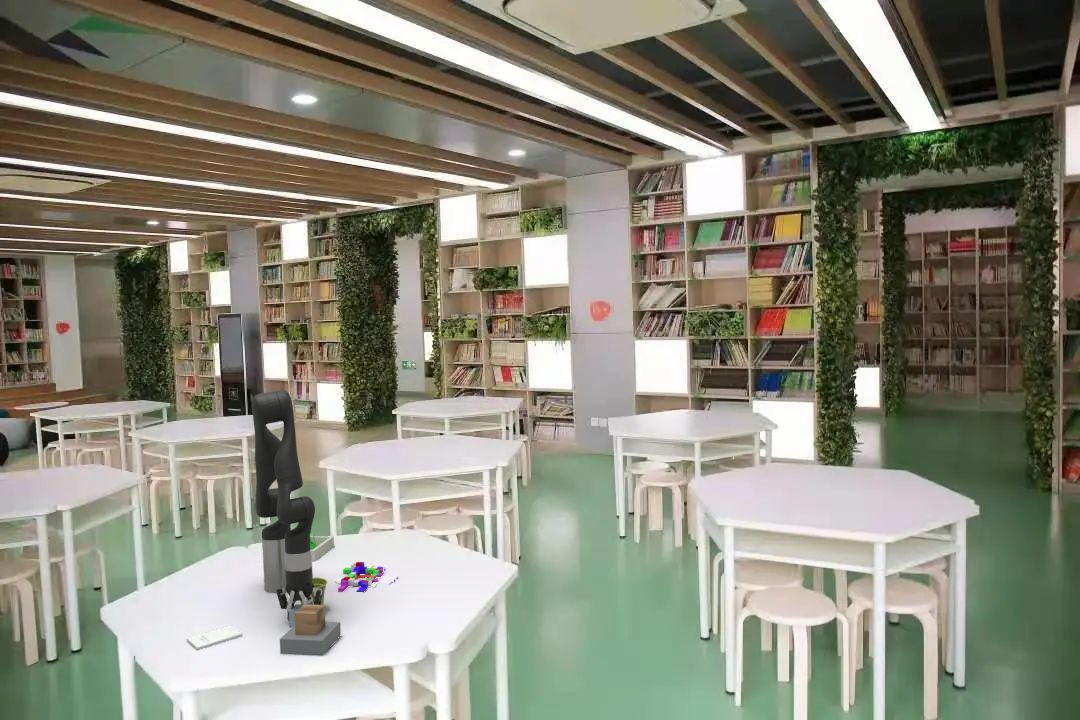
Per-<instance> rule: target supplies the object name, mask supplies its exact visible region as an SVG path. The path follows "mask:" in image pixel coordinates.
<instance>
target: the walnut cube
mask: <svg viewBox="0 0 1080 720" xmlns="http://www.w3.org/2000/svg"><path fill="white" fill-rule="evenodd" d="M325 606H326V605H325V604H323V605H305V604H304V605H303V606H302V607H301V608H300V609H298V610H297V611H296V612H295V613H294V617H295V635H317V634H318V633H319V632H320V631H321V630H322V629H323V628H324V627H325V626H326V624H325V622H326V608H325Z"/></svg>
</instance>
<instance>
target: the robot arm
mask: <svg viewBox="0 0 1080 720" xmlns="http://www.w3.org/2000/svg"><path fill="white" fill-rule="evenodd" d="M251 408H252V409H251V411H252V412H251V413H252V421H253V428H254V463H255V464H254V466H255V477H256V479H255V481H256V483H255V485H256V486H255V504H254V505H255V506H254V507H255V512H256V515H257V516H258V517H259V518H263V519H265V518H266V519H268V518H276V517H277V520H276V521H274V522H273V523H270V524H269V525H268V526H265V527H263V529H261V544H262V546H261V547H262V549H261V550H262V563H263V566H262V568H263V584H264V586H263V587H264V591H265V592H269V593H276V596H277V599H278V602H279V606H280V609H281V610H286V612H287V621H288V622H289V610H290V609H291V608H292V607H294V606H295V605H296V602H298V601H299V602H300V601H303V603H304V604H305V605H321V600H322V595H323V588H320V589H319V588H315V587H314V585H313V578H314V577H313V576H314V574H313V561H312V556H311V550H310V533H312V526H313V523H314V520H315V519H314V518H315V515H316V506H315V503H314V500H313V499H312V498H311V497H310V496H299V497H295V498H291V493H292V492H294V491H297V490H299V489H300V488H302V487H303V485H304V482H303V476H302V471H301V468H300V461H299V456H298V448H297V433H296V423H295V414H294V406H293V402H292V397H291V396H290V393H289V392H288V391H287V390H282V389H281V390H275V391H273V390H272V391H268V392H262V393H257V394H255V395H254V396H253V398H252V401H251ZM279 422H282V423H283V434H282V437H281V439H279V437H278V436H276V435H275V434H274V433H273V432H271V430H270V429H269V428H268V426H267V425H268V424H274V423H279ZM275 482H276V483H277V487H275V488H270V487H271V486H272V485H273V483H275ZM292 524H297V525H296V527H295V528H292V529H291V527H292V526H291V525H292ZM312 592H314V596H315V601H314V603H313V598H312V596H311V593H312ZM287 595H288V596H289V598H288V597H287ZM307 599H308V600H307Z"/></svg>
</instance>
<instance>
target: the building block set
mask: <svg viewBox="0 0 1080 720" xmlns="http://www.w3.org/2000/svg"><path fill="white" fill-rule="evenodd" d="M373 566H374V567H373ZM367 567H369V568H367ZM372 567H373V568H372ZM383 568H384V567H383V566H377V567H376V568H375V565H374V564H365V561H354V562H352V564H351V566H350V567H344V568H343V570H342V574H343V575H346V576H344V577H343V578H338V579H336V580H335V581H334V583H335V584H337V585H340V586H339V587H338V588H337V592H338V593H343V591H344V590H345V589H346V588H347V587H348V586H354V587H356V586H361V587H358V589H356V591H355V592H364V591H365V590H366V589H367V588H368V589H369V587H368V586H372V587H373V586H376V585H377V586H378V584H376V583H374V584H372V583H373V582H379V580H380V581H381V579H379V578H376V577H381V576H382V575H384V573H382V572H383ZM366 573H367V574H366ZM360 574H366V575H360ZM370 574H372V575H370ZM365 577H367V578H365ZM356 578H357V579H356ZM375 578H376V579H375ZM377 586H376V587H377ZM348 588H349V587H348ZM348 588H347V589H348ZM347 589H346V590H347ZM368 589H367V590H368ZM346 590H345V591H346ZM367 590H366V591H367ZM345 591H344V592H345ZM366 591H365V592H366ZM365 592H364V593H365Z"/></svg>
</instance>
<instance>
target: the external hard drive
mask: <svg viewBox="0 0 1080 720" xmlns="http://www.w3.org/2000/svg"><path fill="white" fill-rule="evenodd" d="M242 637H243V633H242V631H241V630H239V629H238V628H236V627H235V626H234V625H228V626H225V627H221V628H218V629H215V630H212V631H208V632H205V633H202V634H199V635H195V636H192V637H189V638H186V642H187V644H189V645H190V646H192V648H194V649H195V650H196V651H199V650H200V649H201V650H204V649H207V648H211V647H213V645H214V646H216V645H220V644H222V643H226V641H227V642H229V640H230V641H233V640H237V639H239V638H242ZM203 648H204V649H203Z"/></svg>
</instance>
